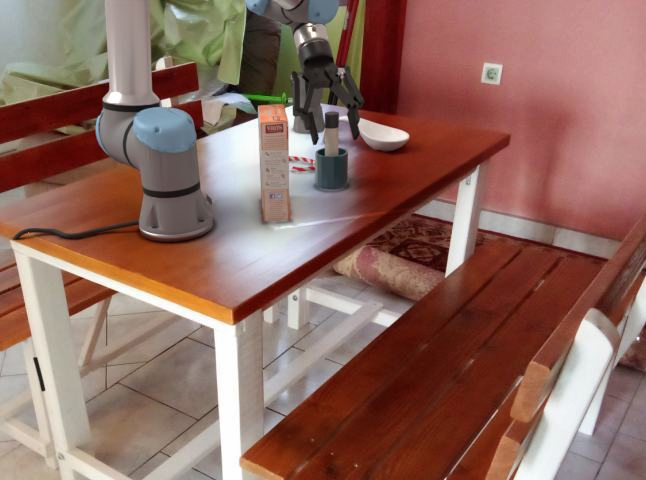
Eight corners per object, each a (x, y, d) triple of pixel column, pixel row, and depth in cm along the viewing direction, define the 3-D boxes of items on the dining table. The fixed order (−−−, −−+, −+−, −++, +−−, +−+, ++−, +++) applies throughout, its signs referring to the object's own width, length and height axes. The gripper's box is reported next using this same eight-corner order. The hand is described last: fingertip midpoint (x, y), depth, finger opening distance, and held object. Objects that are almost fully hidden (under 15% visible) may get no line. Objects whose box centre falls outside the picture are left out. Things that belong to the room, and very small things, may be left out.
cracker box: (291, 221, 148) (289, 119, 137) (262, 223, 148) (257, 121, 137) (287, 198, 160) (285, 102, 149) (261, 199, 160) (256, 104, 149)
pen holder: (321, 193, 162) (321, 158, 157) (311, 183, 168) (311, 149, 163) (351, 189, 163) (352, 154, 159) (341, 179, 169) (341, 145, 165)
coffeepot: (293, 123, 213) (292, 59, 203) (325, 122, 212) (325, 58, 202) (291, 138, 200) (289, 70, 190) (325, 137, 199) (325, 69, 189)
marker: (327, 186, 163) (327, 115, 155) (323, 182, 166) (322, 112, 157) (340, 184, 164) (340, 113, 155) (335, 180, 166) (336, 110, 158)
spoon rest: (415, 144, 188) (417, 117, 185) (398, 157, 180) (400, 129, 176) (334, 135, 200) (334, 109, 196) (314, 147, 191) (314, 120, 187)
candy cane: (282, 151, 186) (326, 161, 176) (282, 156, 186) (326, 166, 177) (261, 158, 181) (305, 170, 172) (261, 164, 182) (305, 175, 173)
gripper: (270, 43, 156) (292, 136, 151) (363, 34, 159) (387, 124, 154) (265, 65, 163) (286, 153, 158) (354, 55, 167) (377, 142, 162)
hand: (336, 139), depth 156 cm, fingers open, 9 cm apart
